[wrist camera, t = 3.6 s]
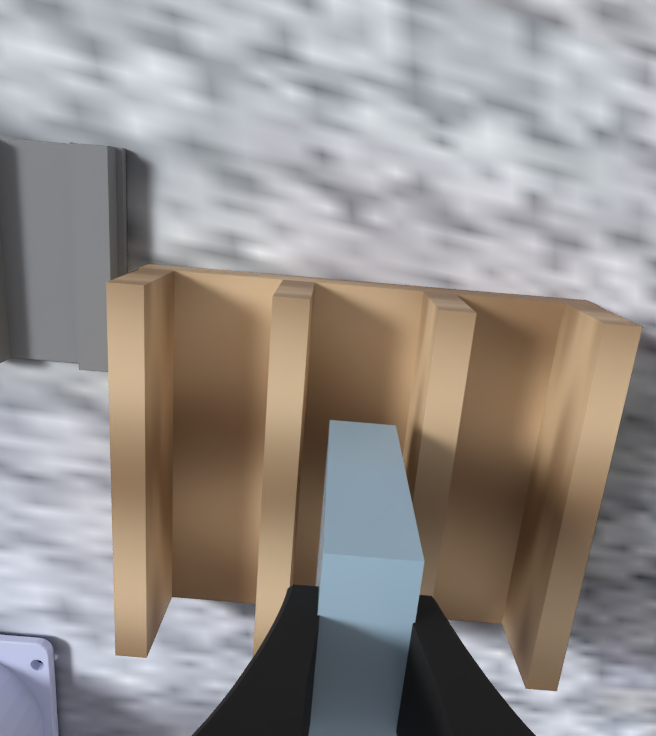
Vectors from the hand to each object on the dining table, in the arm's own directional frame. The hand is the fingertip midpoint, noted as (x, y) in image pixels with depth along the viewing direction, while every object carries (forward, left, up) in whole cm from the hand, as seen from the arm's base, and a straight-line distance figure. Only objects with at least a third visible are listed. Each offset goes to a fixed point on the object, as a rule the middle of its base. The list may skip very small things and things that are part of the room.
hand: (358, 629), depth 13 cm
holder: (+6, +11, -9) cm, 15 cm away
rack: (0, 0, -9) cm, 9 cm away
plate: (0, 0, -5) cm, 5 cm away
